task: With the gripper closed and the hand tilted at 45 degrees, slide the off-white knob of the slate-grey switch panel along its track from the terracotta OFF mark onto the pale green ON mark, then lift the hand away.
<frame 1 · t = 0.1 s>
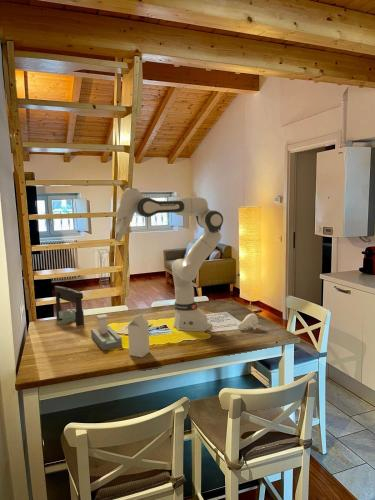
hand: (117, 241, 194), 52 cm above the table, tool tilted 20°, fingers open, 8 cm apart
milk carton: (139, 354, 172), on the table
switch knob: (102, 324, 192), point 8 cm above the table, slide at -5.0 cm
switch panel: (106, 341, 189), on the table
stool: (70, 321, 226), on the table
white rounded lump: (247, 329, 202), on the table
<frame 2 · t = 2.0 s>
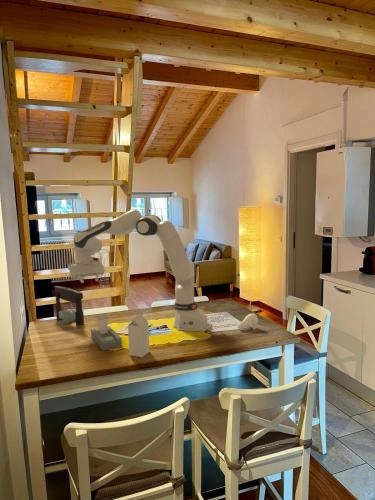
hand: (89, 281, 209), 28 cm above the table, tool tilted 45°, fingers open, 7 cm apart
nothing on the table moved.
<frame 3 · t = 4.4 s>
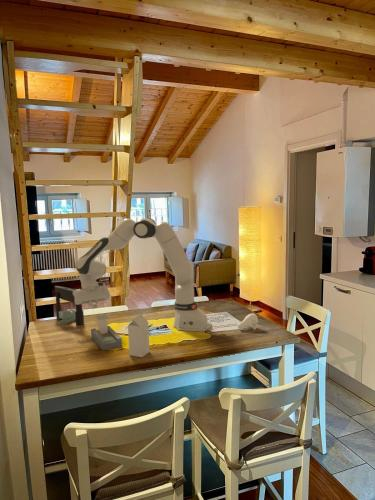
hand: (95, 307, 205), 14 cm above the table, tool tilted 45°, fingers closed
nothing on the table moved.
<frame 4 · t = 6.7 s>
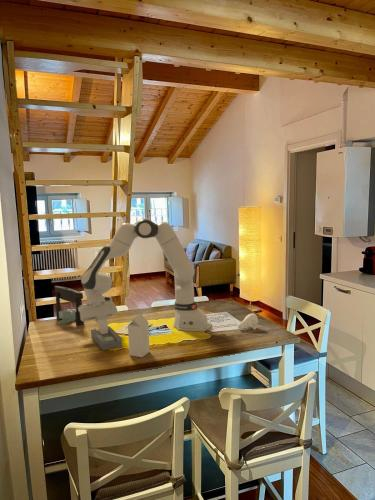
hand: (101, 324, 194), 7 cm above the table, tool tilted 45°, fingers closed, pressing on switch knob
switch knob: (102, 324, 192), point 8 cm above the table, slide at -4.4 cm, touching gripper
everything else where it was.
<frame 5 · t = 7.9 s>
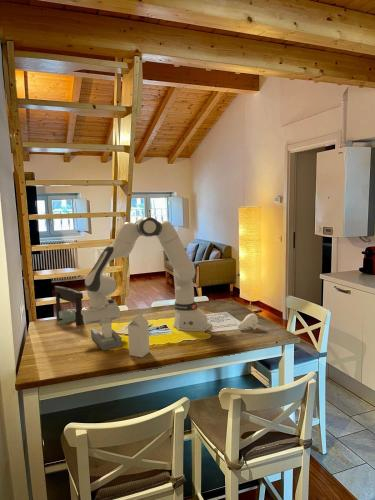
hand: (105, 328, 188), 7 cm above the table, tool tilted 45°, fingers closed, pressing on switch knob
switch knob: (106, 328, 186), point 8 cm above the table, slide at 2.4 cm, touching gripper
everything else where it was.
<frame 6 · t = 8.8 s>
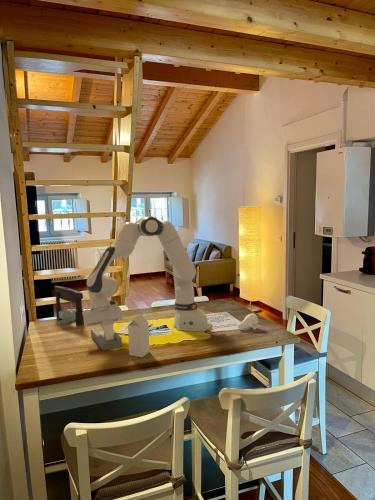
hand: (107, 329, 186), 7 cm above the table, tool tilted 45°, fingers closed, pressing on switch knob
switch knob: (108, 329, 183), point 8 cm above the table, slide at 5.6 cm, touching gripper
everything else where it was.
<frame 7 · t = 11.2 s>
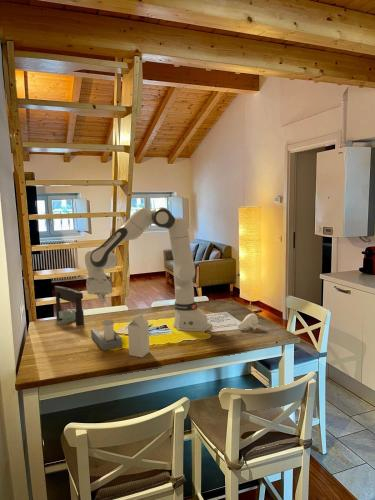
hand: (102, 301, 199), 18 cm above the table, tool tilted 25°, fingers closed
switch knob: (108, 330, 183), point 8 cm above the table, slide at 5.7 cm
everything else where it was.
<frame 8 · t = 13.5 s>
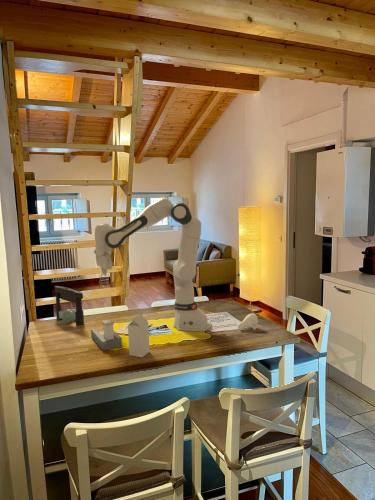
hand: (104, 274, 210), 31 cm above the table, tool pointing down, fingers closed
nothing on the table moved.
at the end: switch knob slide at 5.7 cm; milk carton moved 0.2 cm from its start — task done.
